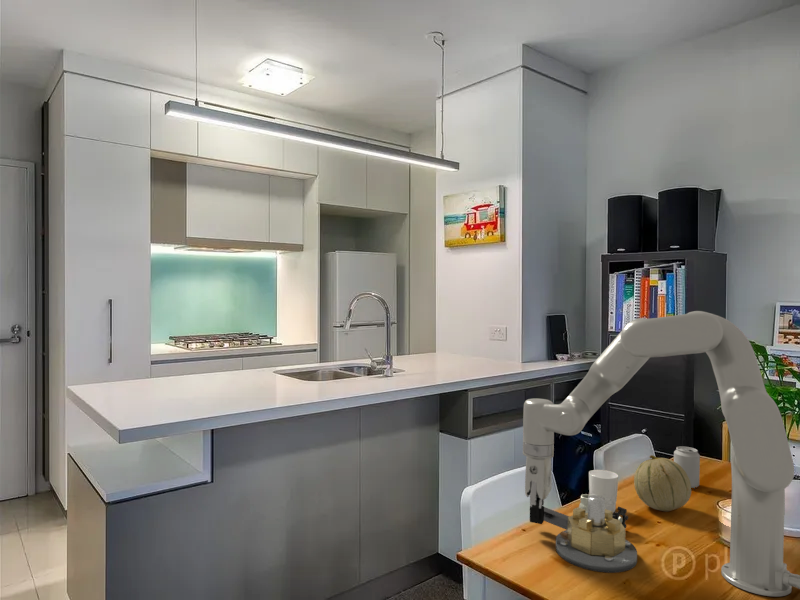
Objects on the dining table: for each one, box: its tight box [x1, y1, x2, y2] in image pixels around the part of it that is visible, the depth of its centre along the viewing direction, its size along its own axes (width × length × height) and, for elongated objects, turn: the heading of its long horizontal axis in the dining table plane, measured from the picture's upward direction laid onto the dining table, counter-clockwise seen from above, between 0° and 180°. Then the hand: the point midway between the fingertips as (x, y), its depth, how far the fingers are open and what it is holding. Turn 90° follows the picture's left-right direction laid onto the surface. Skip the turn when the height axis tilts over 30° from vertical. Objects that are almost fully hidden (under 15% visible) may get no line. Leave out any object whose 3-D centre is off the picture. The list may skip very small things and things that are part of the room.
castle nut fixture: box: [543, 506, 627, 556], centre depth 134 cm, size 25×12×7 cm, turn 39°
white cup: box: [588, 469, 619, 513], centre depth 156 cm, size 8×8×10 cm
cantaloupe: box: [633, 454, 692, 512], centre depth 157 cm, size 15×15×15 cm
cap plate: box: [555, 495, 638, 574], centre depth 129 cm, size 18×18×13 cm
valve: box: [578, 493, 629, 529], centre depth 145 cm, size 7×7×12 cm
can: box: [673, 446, 701, 489], centre depth 177 cm, size 8×8×12 cm
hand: (536, 521), depth 138 cm, fingers closed
